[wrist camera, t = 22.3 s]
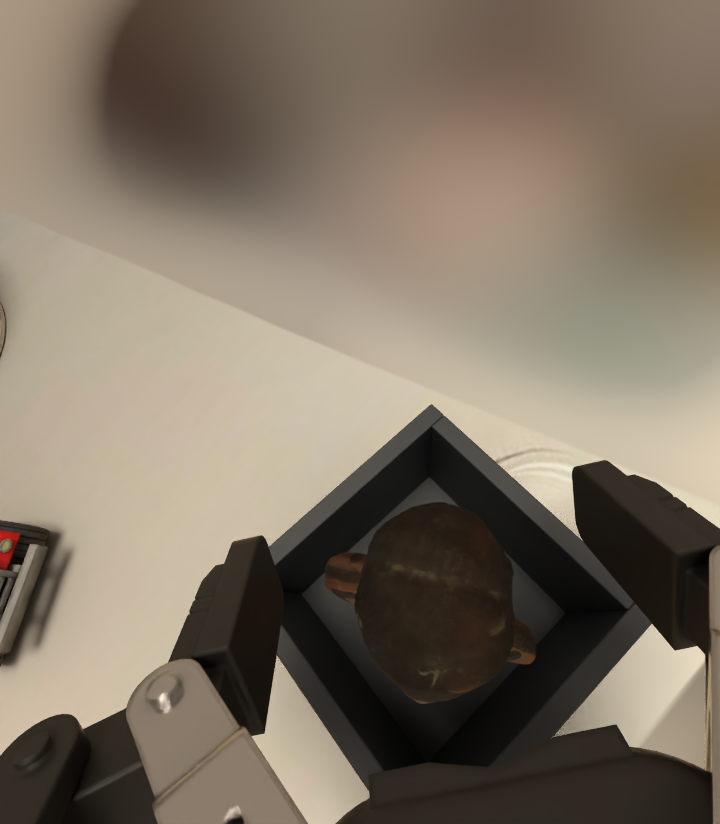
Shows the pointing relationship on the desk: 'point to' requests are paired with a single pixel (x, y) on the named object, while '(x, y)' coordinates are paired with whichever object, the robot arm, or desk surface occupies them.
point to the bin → (532, 604)
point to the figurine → (434, 602)
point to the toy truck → (18, 575)
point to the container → (2, 327)
